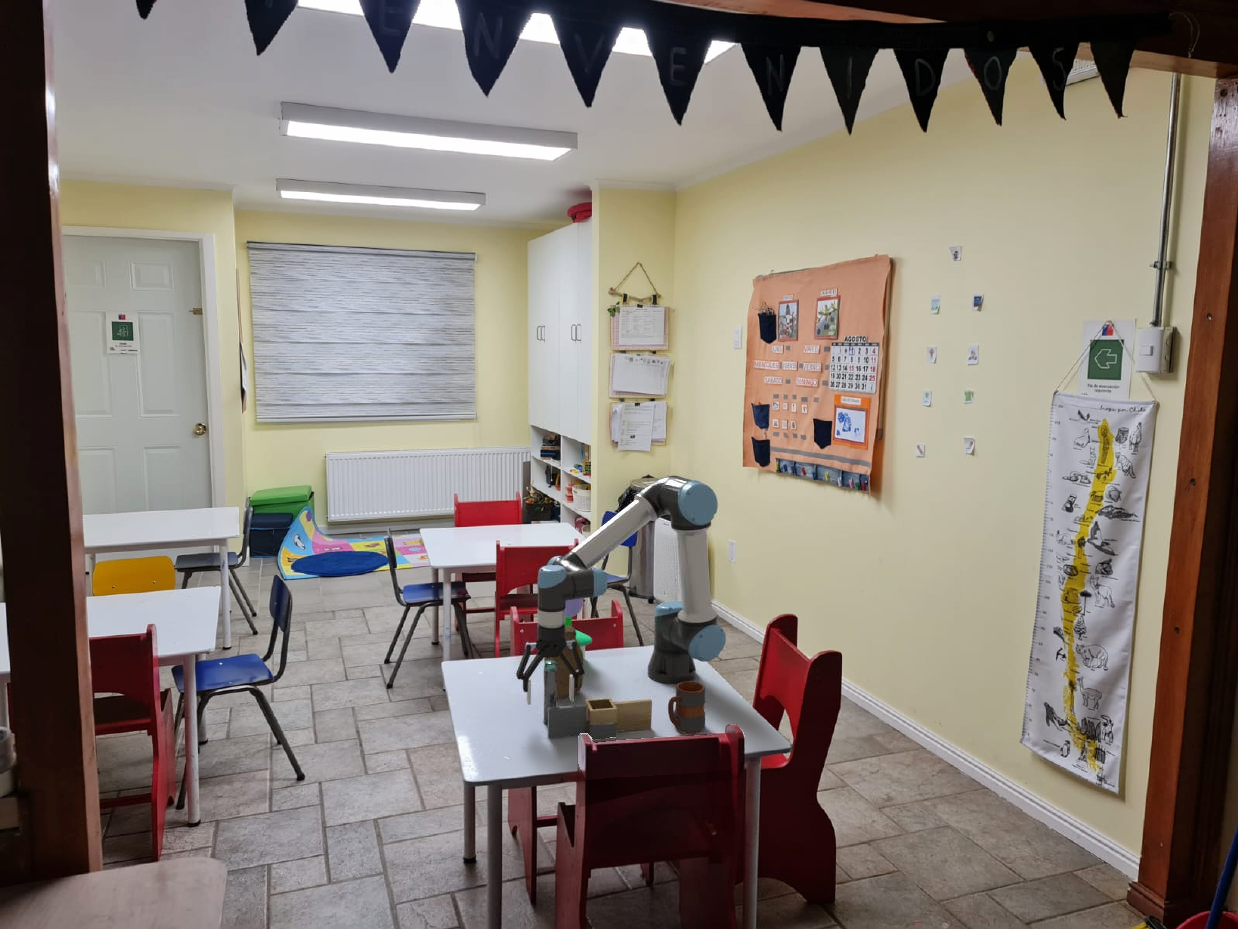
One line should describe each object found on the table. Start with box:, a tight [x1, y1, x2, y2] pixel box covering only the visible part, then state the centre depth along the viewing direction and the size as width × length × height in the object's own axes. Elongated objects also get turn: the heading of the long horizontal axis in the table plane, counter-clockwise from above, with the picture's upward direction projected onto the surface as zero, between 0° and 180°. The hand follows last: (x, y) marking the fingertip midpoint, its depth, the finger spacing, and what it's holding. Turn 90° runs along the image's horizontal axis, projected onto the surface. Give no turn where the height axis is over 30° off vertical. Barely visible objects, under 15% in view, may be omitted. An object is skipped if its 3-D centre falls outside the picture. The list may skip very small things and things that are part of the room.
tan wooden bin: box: [584, 697, 653, 732], centre depth 229 cm, size 18×7×8 cm, turn 104°
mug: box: [667, 680, 706, 734], centre depth 232 cm, size 9×12×12 cm
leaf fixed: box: [547, 704, 618, 741], centre depth 227 cm, size 18×7×8 cm, turn 104°
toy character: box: [564, 598, 593, 660], centre depth 276 cm, size 15×12×25 cm
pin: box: [543, 660, 558, 726], centre depth 233 cm, size 3×3×17 cm
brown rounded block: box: [543, 626, 584, 699], centre depth 252 cm, size 11×8×20 cm
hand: (550, 701), depth 234 cm, fingers open, 11 cm apart
